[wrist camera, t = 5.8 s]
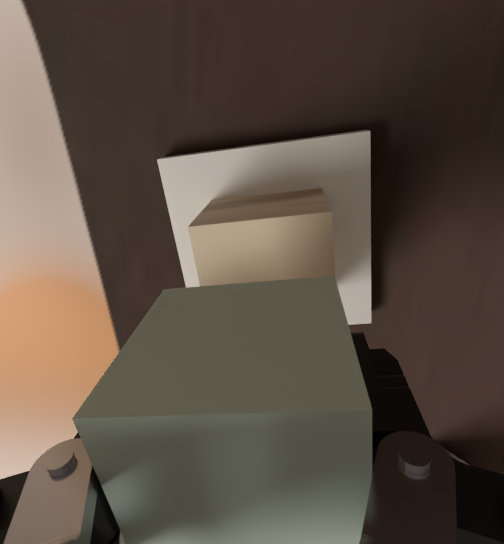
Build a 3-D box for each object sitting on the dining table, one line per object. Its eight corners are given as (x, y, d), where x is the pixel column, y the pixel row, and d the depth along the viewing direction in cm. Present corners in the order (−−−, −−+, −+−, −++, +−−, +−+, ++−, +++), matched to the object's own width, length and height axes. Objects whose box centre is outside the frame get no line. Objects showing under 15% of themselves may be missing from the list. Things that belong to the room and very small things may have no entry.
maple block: (210, 200, 20) (187, 227, 15) (321, 187, 19) (331, 211, 14) (228, 297, 22) (212, 345, 18) (327, 289, 21) (337, 337, 17)
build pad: (164, 156, 20) (156, 159, 19) (365, 129, 19) (370, 130, 18) (200, 324, 25) (196, 334, 23) (367, 313, 23) (371, 323, 22)
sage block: (163, 289, 11) (71, 419, 6) (334, 275, 10) (372, 409, 6) (195, 416, 13) (144, 585, 8) (340, 411, 12) (372, 594, 7)
